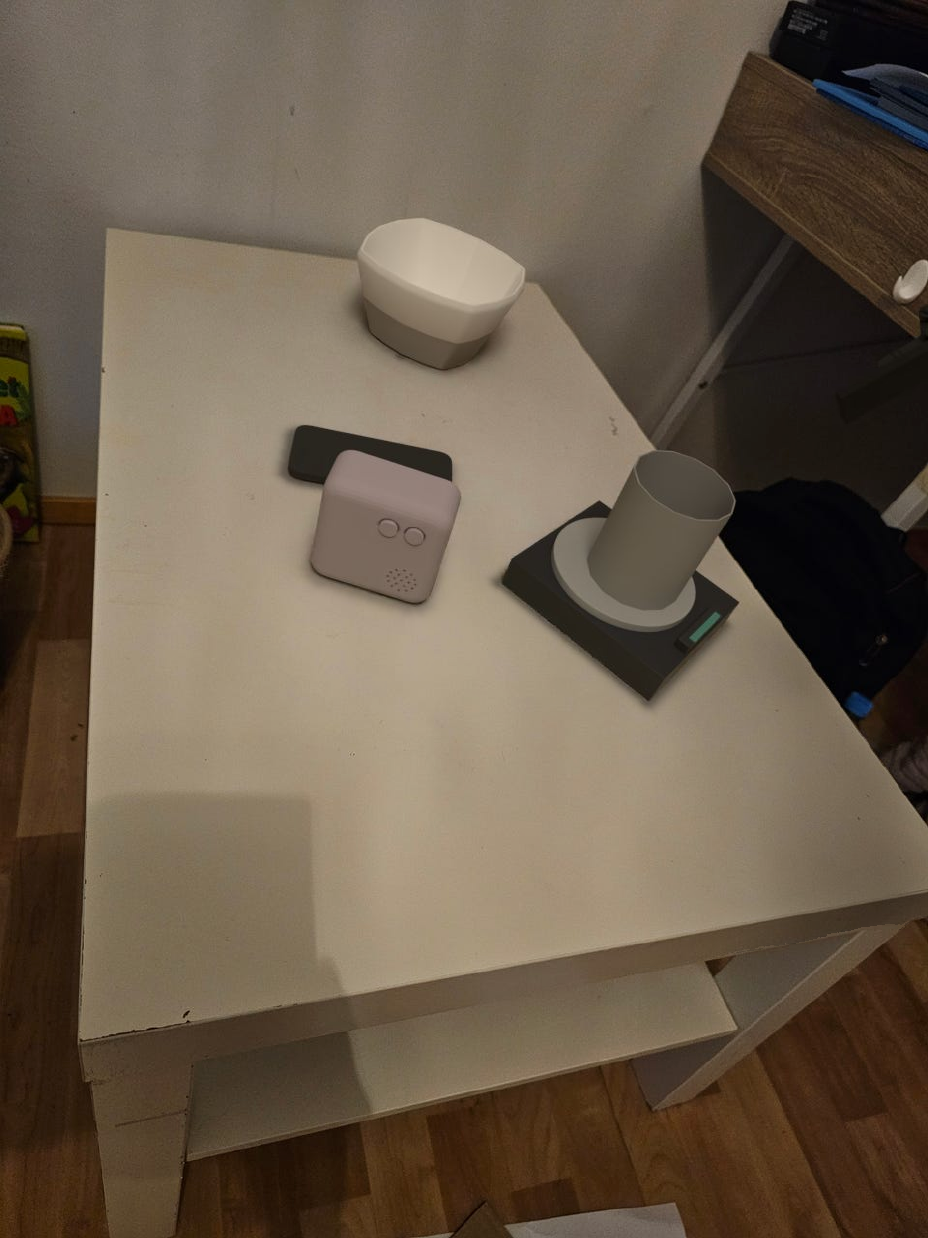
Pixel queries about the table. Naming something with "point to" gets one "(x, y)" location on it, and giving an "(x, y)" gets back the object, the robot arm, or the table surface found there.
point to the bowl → (435, 289)
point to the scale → (614, 607)
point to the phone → (323, 446)
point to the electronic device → (383, 526)
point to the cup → (659, 529)
